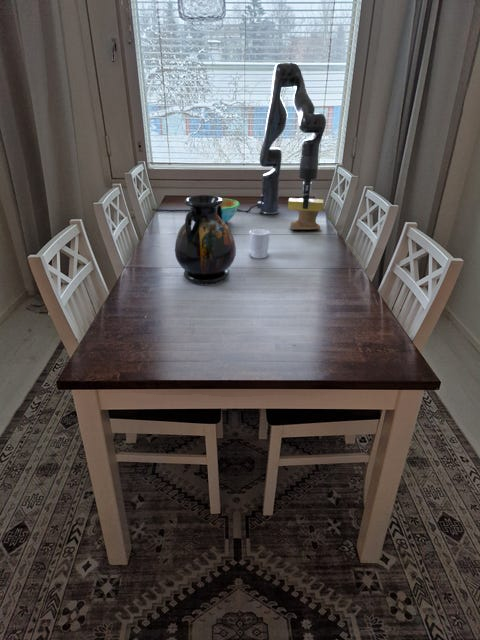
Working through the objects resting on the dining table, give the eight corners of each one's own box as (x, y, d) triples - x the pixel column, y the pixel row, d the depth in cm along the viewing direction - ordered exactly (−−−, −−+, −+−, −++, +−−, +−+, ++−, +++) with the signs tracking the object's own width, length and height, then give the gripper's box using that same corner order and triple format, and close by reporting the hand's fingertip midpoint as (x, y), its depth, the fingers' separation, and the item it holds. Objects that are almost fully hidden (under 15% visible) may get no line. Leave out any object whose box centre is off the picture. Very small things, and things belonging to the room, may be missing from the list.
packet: (287, 209, 179) (288, 201, 178) (288, 205, 185) (289, 197, 183) (322, 211, 177) (323, 202, 175) (322, 207, 183) (323, 199, 181)
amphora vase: (213, 294, 137) (211, 210, 123) (164, 280, 147) (157, 201, 133) (247, 273, 153) (248, 196, 139) (200, 261, 163) (197, 189, 149)
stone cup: (316, 225, 207) (319, 194, 199) (321, 232, 196) (325, 200, 189) (287, 225, 206) (288, 194, 199) (290, 232, 196) (292, 200, 189)
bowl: (187, 226, 204) (186, 205, 199) (207, 215, 222) (206, 196, 217) (228, 231, 197) (228, 210, 192) (245, 219, 215) (246, 200, 210)
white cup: (270, 253, 171) (271, 230, 166) (265, 260, 164) (266, 235, 159) (252, 251, 173) (253, 228, 168) (246, 257, 167) (247, 233, 162)
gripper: (300, 163, 179) (297, 202, 187) (299, 169, 167) (296, 210, 175) (318, 164, 178) (314, 202, 186) (317, 169, 165) (313, 211, 174)
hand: (305, 206), depth 180 cm, fingers closed on packet, 6 cm apart
